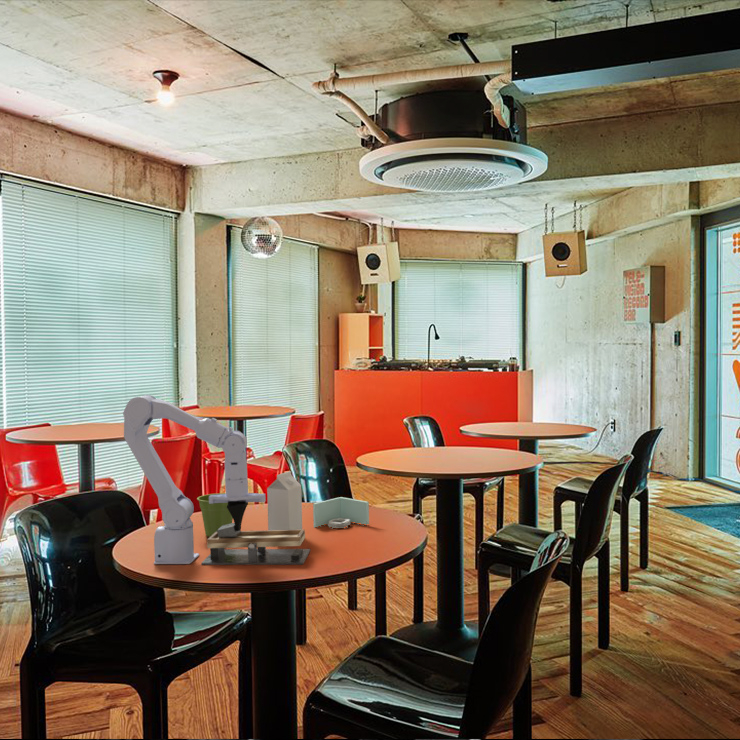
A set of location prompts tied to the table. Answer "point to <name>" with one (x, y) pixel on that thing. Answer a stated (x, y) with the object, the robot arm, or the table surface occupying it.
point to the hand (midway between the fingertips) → (238, 530)
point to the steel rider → (228, 531)
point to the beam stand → (256, 556)
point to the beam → (259, 539)
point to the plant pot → (214, 514)
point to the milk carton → (284, 503)
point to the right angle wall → (340, 512)
